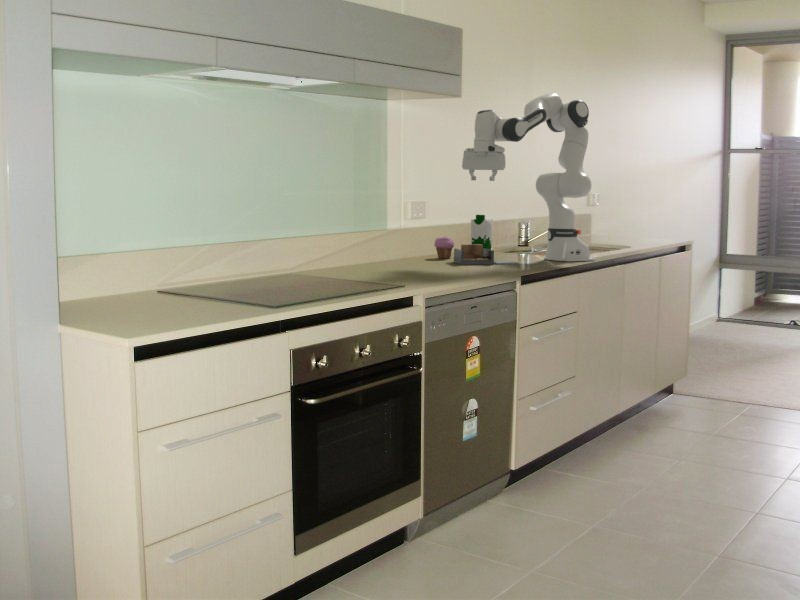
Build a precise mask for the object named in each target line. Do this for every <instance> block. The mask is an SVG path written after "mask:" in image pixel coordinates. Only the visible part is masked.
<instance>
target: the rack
mask: <svg viewBox="0 0 800 600" xmlns="http://www.w3.org/2000/svg"><path fill="white" fill-rule="evenodd" d="M485 258H487V259H489V260H464V251H463V250H461V248H460V249H459V248H453V263H455V264H458V265H460V266H490V265H491V266H492V265H493V266H494V265H495V264H494V261H495V250H492V249H491V250H490V249H486V248H483V259H485Z"/></svg>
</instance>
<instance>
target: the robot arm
mask: <svg viewBox="0 0 800 600" xmlns="http://www.w3.org/2000/svg"><path fill="white" fill-rule="evenodd" d="M589 112H590V111H589V107H588V105H587V103H586V102H585V101H583V100H581V99H576V100H571V101H570V102H566V103H563V100H562V98H561V97H560V96H559V95H558V94H557V93H553V92H550V93H545V94H543V95H540V96H538V97H536V98H534V99H532V100H530V101H528V102H527V103H526V104H525V106H524V110H523V116H522V117H518V116H517V117H511V118H502V117H500V116H499V115H498V114H497V113H496V112H495V110H493V109H486V110H485V109H484V110H479V111H478V112H477V113H476V115H475V120H474V139H473V147H471V148H470V147H468V148H466V149H465V150H463V157H462V161H461V163H462V164H461V167H462V169H463V170H467V171H468V173H469V174H470V175H469V176H470V180H471V181H477V176H475V171H491V173H492V174H491V176H489V181H490V182H494V181H495V178H496V176H497V174H498V171H504V170H505V169H506V155H505V151H506V149H505V147H503V146H501V145H498V144H495V143H496V142H498V143H499V142H513V143H516V142H517V143H518V142H520V141H522V139H524V138H525V136H526V135H527V133H529V132H530V131H532V130H533V129H535V128H536V127H538V126H539V125H540V124H542V123H544V122H545V123H546V125H547V128H548V129H549V130H550V131H552V132H554V133H562V132H564V139H563V141H562V144H561V149H560V151H559V154H558V157H557V160H558V163H559V165H560V167H561V168H563V169H564V170H565V171H564V172H549V173H541V174H540V175H539V176H538V177H537V179H536V181H535V189H536V192H537V193H538V194H539V195H540V197H541V198H543V200H544V201H545V203H546V206H547V208H548V216H549V217H548V219H549V221H548V223H549V224H548V228H547V246H546V251H545V255H544V259H545V260H548V261H559V262H560V261H561V262H585V261H586V262H587V261H588V262H589V261H592V262H593V261H595V257H593V256H591V252H590V247H589V246H588V244H587V243H585V242H584V241H583V240H582V239H580V238H579V237H578V235H581V234H582V230H581V229H576V228H575V211H574V209H573V208H572V207H570V206H568V205H567V204H566V202H565V199H564V198H567V199H569V198H570V199H577V198H578V199H579V198H583V197H587V196H588V195H589V194H590V192H591V190H592V181H591V179H590V177H589V176H588V175H587V174H586V173H585V171H584V168H583V166H584V160H585V155H586V152H587V148H588V143H589V131H588V129H587V128H586V127H585V126H586V125H587V124H588V122H589V120H588V119H589V116H590V115H589Z"/></svg>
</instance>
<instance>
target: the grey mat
mask: <svg viewBox="0 0 800 600" xmlns="http://www.w3.org/2000/svg"><path fill="white" fill-rule="evenodd" d="M498 264H500V265H520V262H518V261H514V260H494V265H498Z"/></svg>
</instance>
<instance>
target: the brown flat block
mask: <svg viewBox="0 0 800 600" xmlns="http://www.w3.org/2000/svg"><path fill="white" fill-rule="evenodd" d="M460 245H461V246H460V250H463V251H464V259H483V245H482V244H471V243H470V244H463V243H462V244H460Z"/></svg>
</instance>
